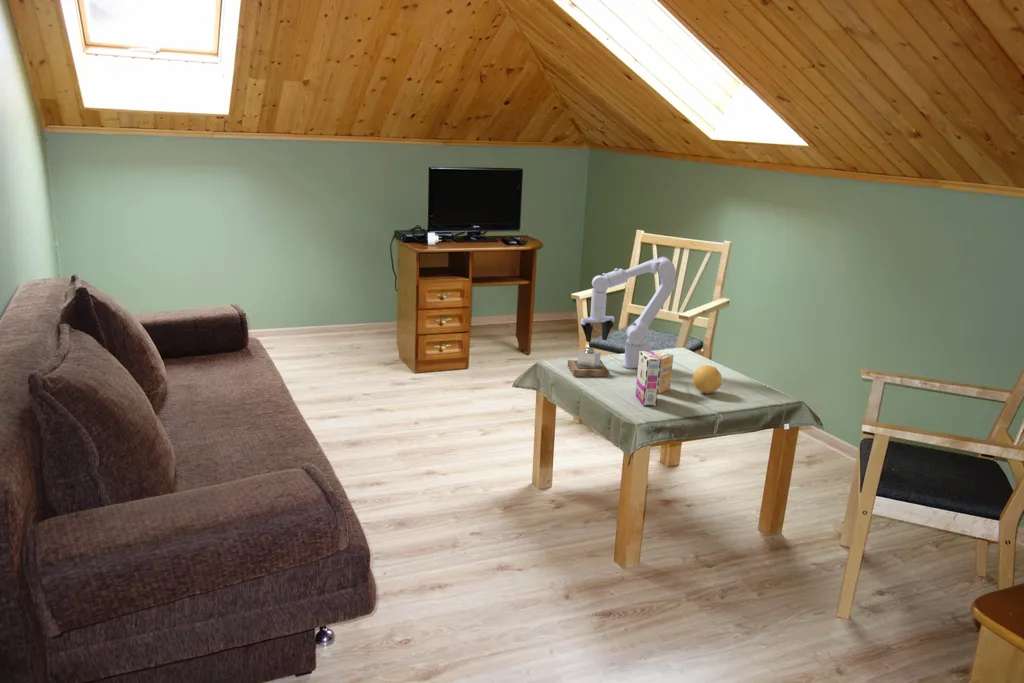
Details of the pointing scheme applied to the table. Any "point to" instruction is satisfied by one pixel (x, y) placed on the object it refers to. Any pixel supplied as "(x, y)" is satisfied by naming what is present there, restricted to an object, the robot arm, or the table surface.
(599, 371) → the stand
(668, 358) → the supplement box
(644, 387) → the candy bar box
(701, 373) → the stress ball
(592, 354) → the housing
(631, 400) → the table surface
